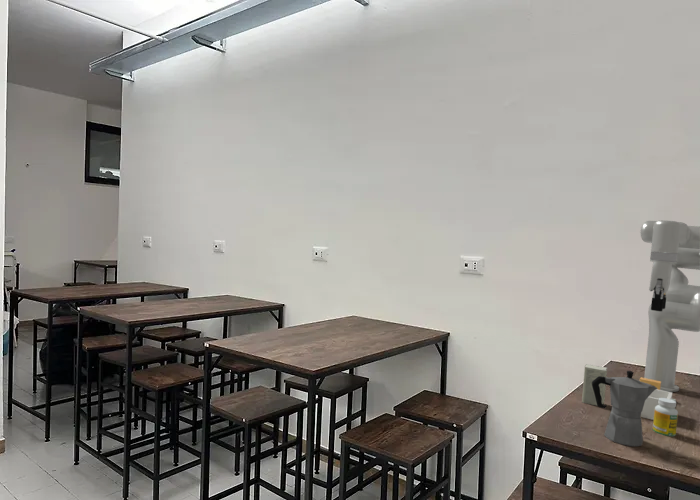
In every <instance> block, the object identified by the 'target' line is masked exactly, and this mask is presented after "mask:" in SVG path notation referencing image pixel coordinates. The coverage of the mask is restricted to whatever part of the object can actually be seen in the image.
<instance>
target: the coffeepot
mask: <svg viewBox="0 0 700 500" xmlns="http://www.w3.org/2000/svg"><path fill="white" fill-rule="evenodd" d="M626 376H627V377H626ZM626 376H624V377H623V376H619V377H618V376H611V377H608V376H607V377H602V376H598V377H597V378H596V379H595V380H593V381H592V387H593V391H594V395H595V398H596V402H597V406H596V407H598V408H601V409H606V408H607V406H608V405H607V404H605V403H604V404H602V397H601V395H600V387H599V384H600V383H602V384H605V385H607V386H609V395H610V396H609V397H610V405H611V411H610V414H609V417H608V421H607V424H606V427H605V431H604V434H603V435H604V437H605V438H607V440H609V441H611V442H614V443H616V444H620V445H622V446H627V447H641V446H643V442H644V437H643V436H644V435H643V424H642V417H641V412H642V410H643V406H644V403H645V400H646V399H647V398H648V397H649V395H650V394H651V393H652V392H653V391H654V390H656V389H657V387H655V386H653V385H651V384H647V383H644V382H641V381H639V380H638V379H636V378H633V376H634V372H633V370H632V371H631V370H627V371H626Z"/></svg>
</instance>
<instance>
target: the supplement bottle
mask: <svg viewBox="0 0 700 500" xmlns="http://www.w3.org/2000/svg"><path fill="white" fill-rule="evenodd" d="M658 403H659V405H657V406H656V407H655V412H654V420H653V422H652V430H653V432H654V433H656V434H659V435H663V436H667V437H676V436H677V428H678V427H677V426H678V420H679V419H678V417H679V412H678V410H677V409H676V406H677V400H676V401H674V400H671V399H667V398H659V401H658Z"/></svg>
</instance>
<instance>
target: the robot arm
mask: <svg viewBox="0 0 700 500" xmlns="http://www.w3.org/2000/svg"><path fill="white" fill-rule="evenodd" d="M639 233H640V238H641V240H642V241H643V242H644V243H649V244H651V247H650V248H651V249H650V256H649V257H650V259H649V262H653V263H652V266H651V267H652V268H651V273H650V274H651V275H650V281H649V287H648V288H649V289H648V290H649V292H653V293H652V297H651V303H650V304H649V307H648V338H647V339H648V340H647V349H646V358H645V368H644V377H643V378H647V379H652V380H656V381H661V388H660V390H662V391H667V392H671V393H675V392H679V391H680V387H679V386H678V385H677V384H675V383H676V382H675V381H676V373H677V364H678V353H679V347H680V345H679V344H680V342H679V339H678V336H677V335H676V334H675V332H674V331H673V330H680V331H687V332H693V333H698V332H700V285H693V284H692V285H691V284H689V279H688V277H687V276H686V275H685V273H684V272H683V271H681V270H680V269H688V270H696V271H700V226H698V225H697V226H695V225H688V224H687V223H685V222H680V221H675V220H646V221H644V222H643V223H642V224H641V227H640V231H639ZM639 380H640V378H639ZM639 380H638V381H639Z"/></svg>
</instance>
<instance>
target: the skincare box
mask: <svg viewBox="0 0 700 500" xmlns="http://www.w3.org/2000/svg"><path fill="white" fill-rule="evenodd" d="M607 374H608V367H605V366H604V367H603V366H599V365H598V366H597V365H593V364H585V365H584V372H583V381H582V382H583V385H582V396H581V403H584V404H586V405H587V404H588V405H591V406H596V407H598V406H597V402H596V398H595V395H594V391H593V387H592V381H593V380H595V379H596V378H597V377H598V376H602V377H608V376H607ZM599 387H600V395H601V397H602V404H604V405H605V398H606V390H607V389H606V388H607V386H606V385H605V384H602V383H600V384H599Z"/></svg>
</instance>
